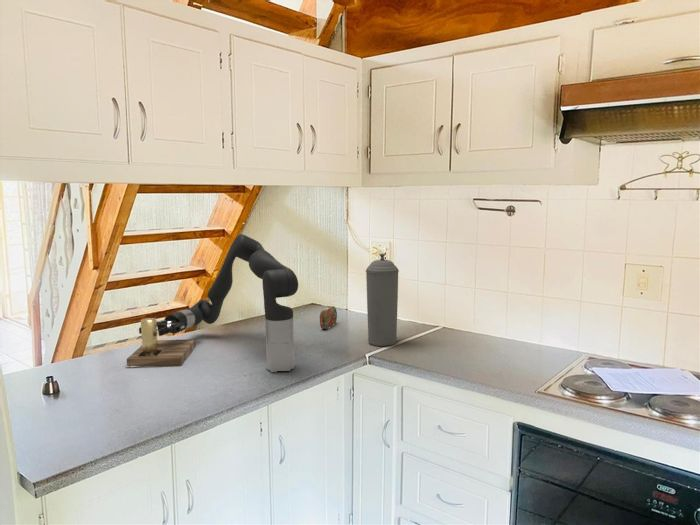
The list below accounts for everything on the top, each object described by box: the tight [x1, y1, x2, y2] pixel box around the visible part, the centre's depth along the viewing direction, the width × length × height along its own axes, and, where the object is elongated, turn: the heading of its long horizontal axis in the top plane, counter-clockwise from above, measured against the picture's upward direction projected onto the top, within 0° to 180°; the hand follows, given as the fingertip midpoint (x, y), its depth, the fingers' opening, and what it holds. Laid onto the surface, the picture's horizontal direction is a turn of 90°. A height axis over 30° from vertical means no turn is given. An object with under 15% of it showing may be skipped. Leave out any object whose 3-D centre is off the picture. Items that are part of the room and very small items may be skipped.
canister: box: [365, 253, 400, 347], centre depth 196 cm, size 13×13×35 cm
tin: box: [319, 306, 338, 330], centre depth 222 cm, size 15×3×8 cm, turn 161°
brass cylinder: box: [140, 317, 158, 356], centre depth 178 cm, size 5×5×15 cm
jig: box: [126, 338, 197, 367], centre depth 183 cm, size 22×18×3 cm
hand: (149, 332), depth 177 cm, fingers open, 8 cm apart
